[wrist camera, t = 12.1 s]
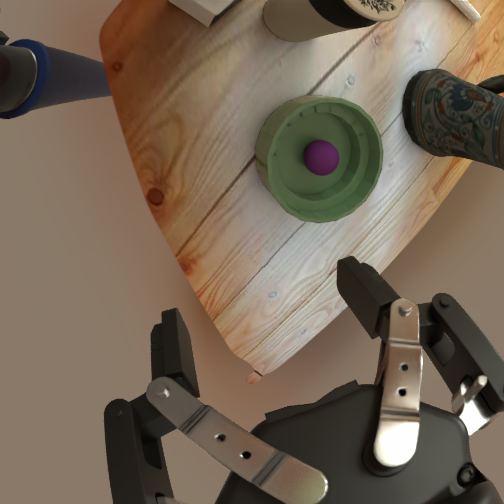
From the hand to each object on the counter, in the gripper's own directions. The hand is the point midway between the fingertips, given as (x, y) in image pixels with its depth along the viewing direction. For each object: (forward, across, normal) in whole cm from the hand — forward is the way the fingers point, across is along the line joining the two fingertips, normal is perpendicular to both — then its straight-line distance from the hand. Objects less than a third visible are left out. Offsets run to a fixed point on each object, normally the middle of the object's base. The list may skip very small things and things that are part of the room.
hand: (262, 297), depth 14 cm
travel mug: (+28, -15, -18) cm, 37 cm away
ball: (+25, -16, +3) cm, 29 cm away
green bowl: (+28, -16, +3) cm, 32 cm away
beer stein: (+28, -42, -4) cm, 50 cm away
